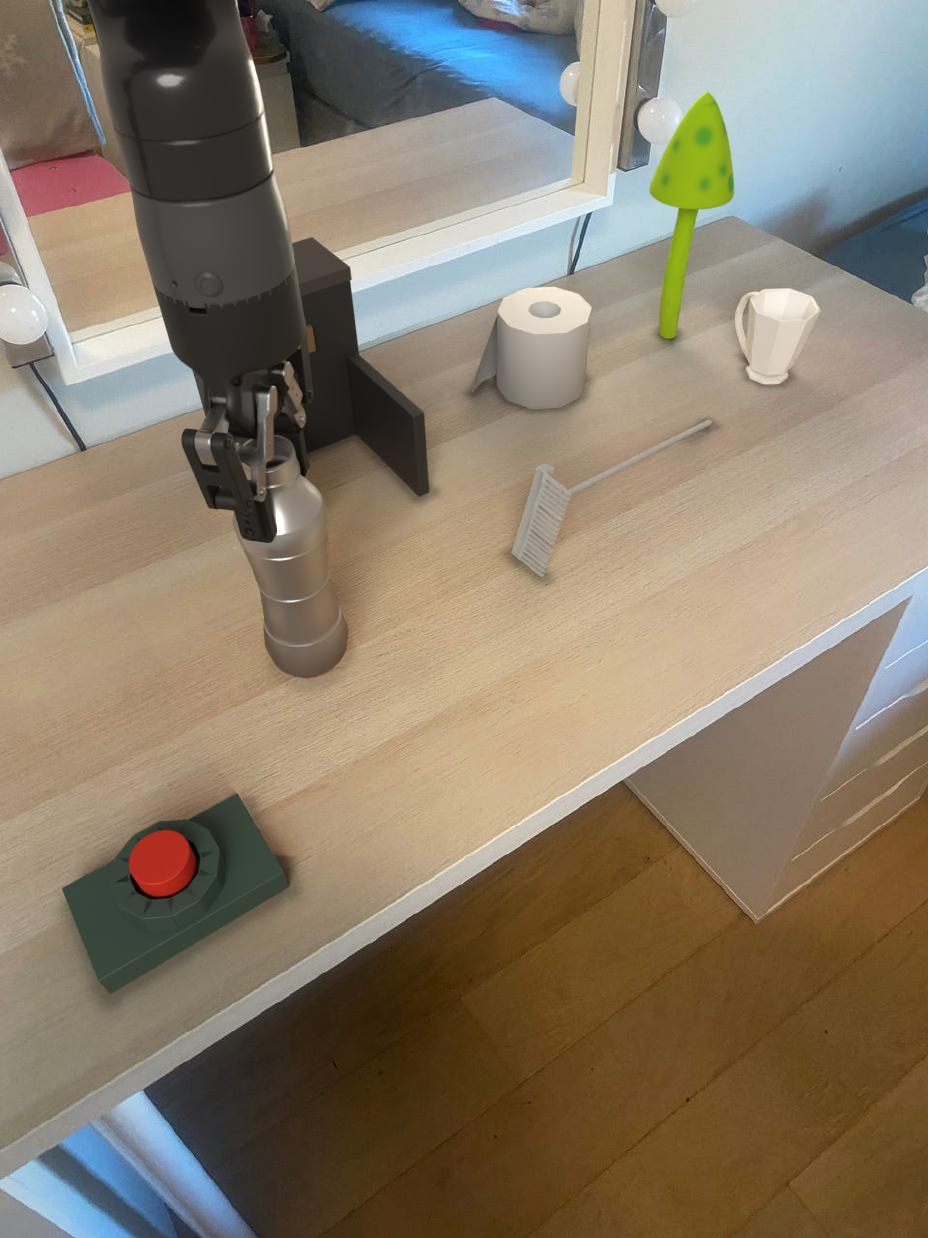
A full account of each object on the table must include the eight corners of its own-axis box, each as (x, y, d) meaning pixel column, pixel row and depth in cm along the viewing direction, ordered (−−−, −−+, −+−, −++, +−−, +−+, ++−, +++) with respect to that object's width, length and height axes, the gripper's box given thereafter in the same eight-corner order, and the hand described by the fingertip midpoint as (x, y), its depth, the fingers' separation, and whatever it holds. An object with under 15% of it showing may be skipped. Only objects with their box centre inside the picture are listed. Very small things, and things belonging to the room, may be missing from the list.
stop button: (149, 908, 53) (141, 895, 52) (128, 862, 55) (120, 849, 54) (205, 876, 55) (198, 863, 53) (183, 833, 57) (175, 819, 55)
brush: (717, 478, 92) (755, 400, 85) (541, 579, 76) (570, 493, 70) (688, 458, 94) (723, 380, 87) (510, 553, 78) (536, 467, 71)
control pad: (110, 995, 54) (88, 970, 51) (73, 903, 58) (50, 875, 55) (289, 887, 58) (278, 858, 55) (243, 809, 62) (231, 778, 59)
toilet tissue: (452, 395, 95) (449, 321, 88) (544, 350, 100) (548, 277, 94) (508, 434, 90) (510, 359, 83) (602, 385, 95) (610, 310, 89)
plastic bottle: (267, 692, 69) (208, 489, 54) (273, 626, 73) (219, 423, 58) (351, 686, 69) (315, 483, 54) (351, 621, 73) (318, 417, 59)
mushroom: (713, 323, 103) (762, 82, 85) (694, 360, 98) (742, 112, 80) (643, 309, 106) (676, 71, 87) (620, 344, 101) (651, 100, 82)
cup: (759, 398, 93) (778, 328, 87) (704, 351, 99) (718, 282, 93) (814, 382, 95) (836, 311, 89) (757, 337, 101) (774, 268, 95)
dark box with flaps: (433, 490, 84) (423, 324, 71) (298, 551, 79) (262, 383, 66) (335, 396, 95) (312, 236, 82) (211, 443, 90) (165, 281, 77)
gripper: (209, 198, 52) (262, 434, 65) (92, 325, 43) (180, 572, 55) (331, 208, 51) (361, 446, 64) (239, 340, 42) (295, 589, 54)
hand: (277, 504), depth 59 cm, fingers closed on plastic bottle, 6 cm apart
